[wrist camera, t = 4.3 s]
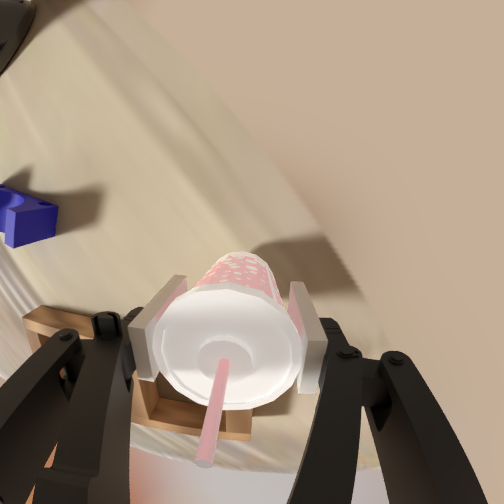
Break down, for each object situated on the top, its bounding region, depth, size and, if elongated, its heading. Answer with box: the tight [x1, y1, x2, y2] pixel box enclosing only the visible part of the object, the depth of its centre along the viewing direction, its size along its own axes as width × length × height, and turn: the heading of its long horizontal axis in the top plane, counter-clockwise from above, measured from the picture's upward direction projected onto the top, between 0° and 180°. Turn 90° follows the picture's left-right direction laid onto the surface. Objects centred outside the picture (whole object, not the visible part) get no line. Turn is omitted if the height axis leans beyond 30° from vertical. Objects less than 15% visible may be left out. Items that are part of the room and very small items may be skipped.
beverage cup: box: [152, 251, 302, 468], centre depth 12 cm, size 6×6×14 cm
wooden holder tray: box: [22, 306, 253, 441], centre depth 22 cm, size 24×10×4 cm, turn 88°
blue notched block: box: [0, 184, 59, 248], centre depth 18 cm, size 12×4×6 cm, turn 72°
